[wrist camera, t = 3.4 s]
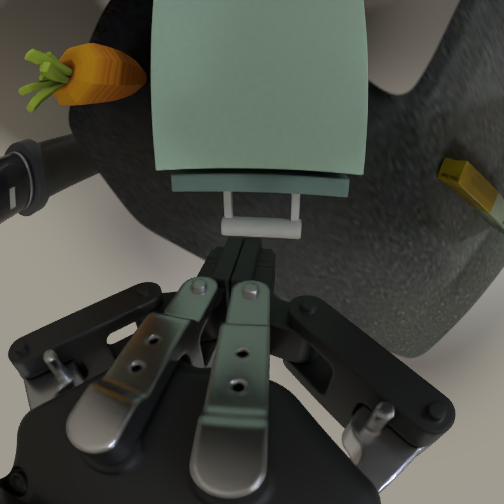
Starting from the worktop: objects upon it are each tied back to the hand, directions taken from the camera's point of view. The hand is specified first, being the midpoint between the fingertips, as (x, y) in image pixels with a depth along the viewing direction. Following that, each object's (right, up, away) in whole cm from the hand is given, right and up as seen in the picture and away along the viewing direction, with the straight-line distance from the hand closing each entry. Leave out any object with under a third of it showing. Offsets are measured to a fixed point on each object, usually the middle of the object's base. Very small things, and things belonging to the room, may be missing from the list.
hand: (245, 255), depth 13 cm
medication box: (+25, +7, +9) cm, 27 cm away
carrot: (-10, +17, +8) cm, 22 cm away
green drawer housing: (+2, +16, +7) cm, 17 cm away
